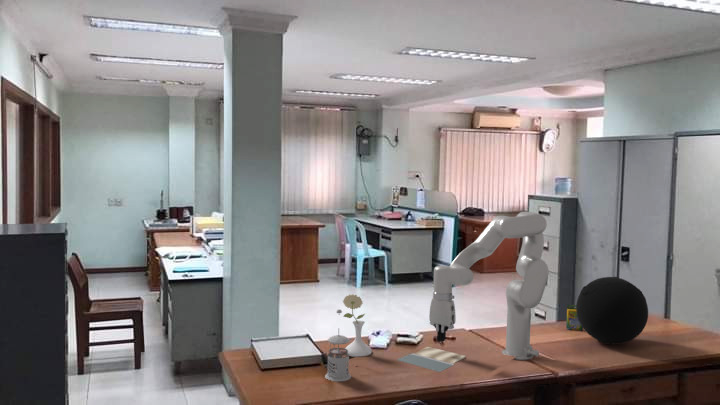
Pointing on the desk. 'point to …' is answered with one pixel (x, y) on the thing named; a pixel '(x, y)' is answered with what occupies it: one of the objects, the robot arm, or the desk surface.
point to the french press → (338, 359)
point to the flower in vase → (356, 328)
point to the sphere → (612, 310)
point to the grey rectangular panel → (425, 362)
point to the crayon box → (572, 319)
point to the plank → (440, 355)
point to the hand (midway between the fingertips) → (441, 340)
